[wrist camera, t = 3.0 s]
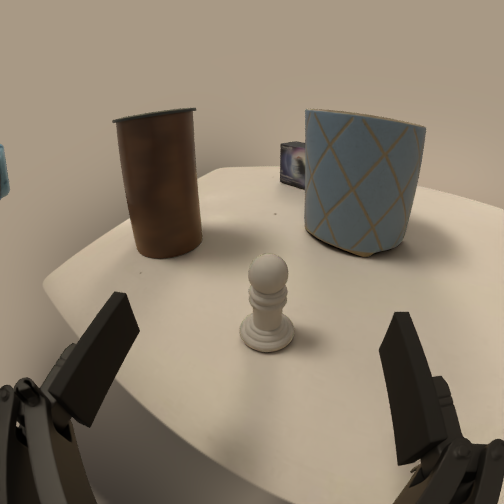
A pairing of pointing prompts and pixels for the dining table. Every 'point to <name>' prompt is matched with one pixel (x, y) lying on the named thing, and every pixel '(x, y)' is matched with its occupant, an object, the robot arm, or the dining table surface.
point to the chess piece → (267, 305)
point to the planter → (360, 178)
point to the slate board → (154, 114)
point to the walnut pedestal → (161, 183)
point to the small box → (293, 164)
